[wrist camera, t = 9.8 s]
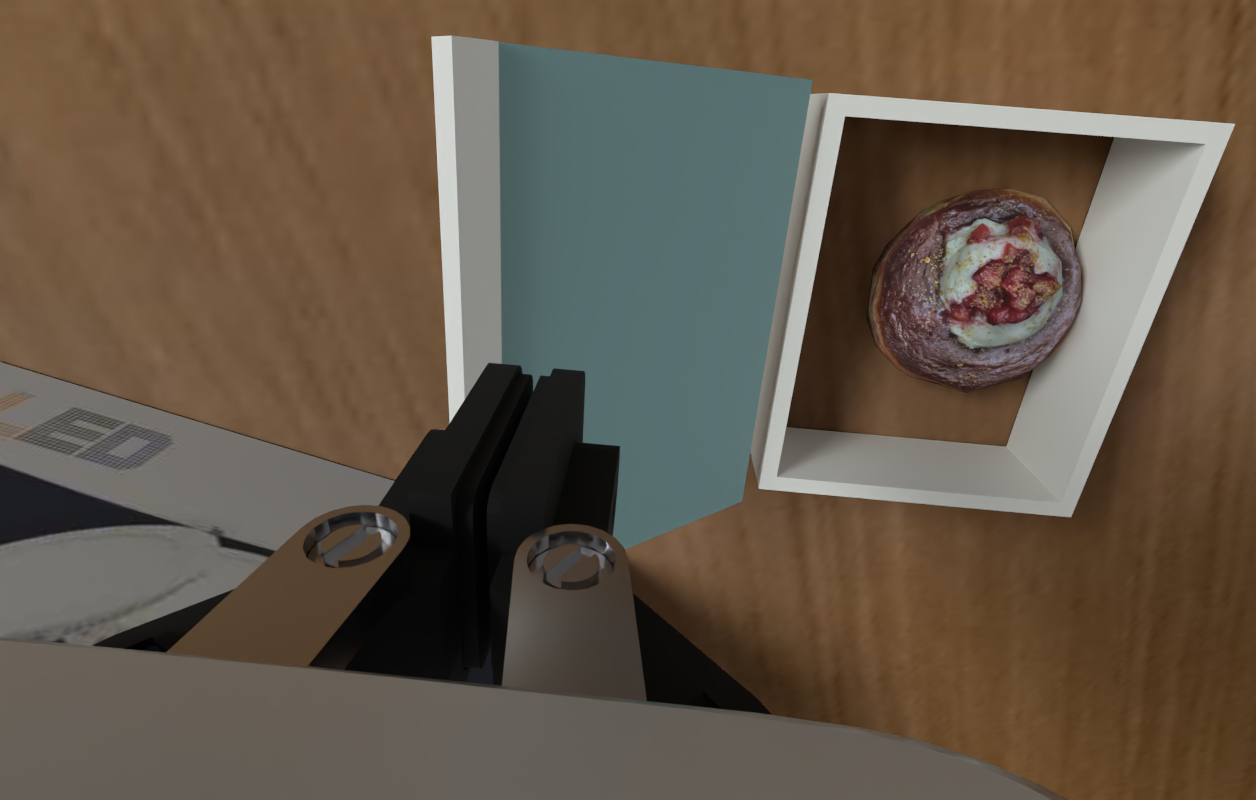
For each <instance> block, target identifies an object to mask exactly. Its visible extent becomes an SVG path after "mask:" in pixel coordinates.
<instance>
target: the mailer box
mask: <svg viewBox="0 0 1256 800" xmlns="http://www.w3.org/2000/svg"><path fill="white" fill-rule="evenodd" d="M845 116H848V117H861V118H874V119H887V120H900V121H913V122H926V123H939V124H952V125H965V126H978V127H991V128H1004V129H1017V130H1030V131H1043V132H1056V133H1069V134H1082V135H1095V136H1108V137H1114V140H1113V143H1112V145H1111V148H1110V151H1109V154H1108V157H1107V160H1106V163H1105V165H1104V168H1103V171H1102V174H1101V177H1100V180H1099V183H1098V185H1097V188H1096V191H1095V194H1094V197H1093V200H1092V203H1091V205H1090V208H1089V211H1088V214H1087V217H1086V220H1085V223H1084V225H1083V228H1082V231H1081V234H1080V237H1079V240H1078V243H1077V246H1076V248H1075V252H1076V255H1077V258H1078V261H1079V264H1080V267H1081V304H1080V306H1079V308H1078V311H1077V313H1076V315H1075V317H1074V319H1073V322H1072V324H1071V326H1070V328H1069V330H1068V332H1067V334H1066V337H1065V338H1064V339H1063V341H1062V342H1061V343H1060V344H1059V346H1058V347H1057V348H1056V349H1055V351H1054V352H1053V353H1052V355H1051V356H1050V357H1048V358H1047V359H1046V360H1044V361H1043V362H1042V363H1040V364H1039V365H1038V366H1037V367H1035V368H1034V369H1033V371H1032V374H1031V377H1030V380H1029V383H1028V386H1027V389H1026V391H1025V394H1024V397H1023V400H1022V403H1021V406H1020V409H1019V411H1018V414H1017V417H1016V420H1015V423H1014V426H1013V429H1012V431H1011V434H1010V437H1009V440H1008V443H1007V446H1006V447H1004V446H993V445H982V444H971V443H960V442H948V441H937V440H926V439H915V438H903V437H892V436H881V435H870V434H858V433H847V432H836V431H825V430H814V429H802V428H791V427H786V425H787V420H788V415H789V410H790V404H791V399H792V394H793V388H794V383H795V378H796V373H797V367H798V362H799V357H800V352H801V346H802V341H803V336H804V331H805V325H806V320H807V315H808V309H809V304H810V299H811V294H812V288H813V283H814V278H815V273H816V267H817V262H818V257H819V251H820V246H821V241H822V236H823V230H824V225H825V220H826V215H827V209H828V204H829V199H830V193H831V188H832V183H833V178H834V172H835V167H836V162H837V157H838V151H839V146H840V141H841V136H842V130H843V125H844V120H845ZM1234 126H1235V124H1229V123H1216V122H1203V121H1189V120H1176V119H1163V118H1150V117H1137V116H1124V115H1110V114H1097V113H1084V112H1071V111H1058V110H1045V109H1032V108H1018V107H1005V106H992V105H979V104H966V103H953V102H939V101H926V100H913V99H900V98H887V97H874V96H861V95H847V94H834V93H822V94H810V99H809V105H808V111H807V117H806V123H805V129H804V135H803V141H802V147H801V153H800V159H799V165H798V171H797V177H796V183H795V189H794V195H793V201H792V206H791V212H790V218H789V224H788V230H787V236H786V242H785V248H784V254H783V260H782V266H781V272H780V278H779V284H778V290H777V296H776V302H775V308H774V314H773V320H772V326H771V332H770V338H769V344H768V350H767V356H766V362H765V368H764V374H763V380H762V386H761V392H760V398H759V404H758V410H757V415H756V421H755V427H754V433H753V439H752V445H751V451H750V452H751V457H752V461H753V465H754V470H755V474H756V479H757V483H758V488H759V489H766V490H777V491H788V492H799V493H810V494H821V495H832V496H843V497H854V498H865V499H876V500H887V501H898V502H908V503H919V504H930V505H941V506H952V507H963V508H974V509H985V510H996V511H1007V512H1018V513H1029V514H1040V515H1051V516H1061V517H1071V516H1072V514H1073V512H1074V509H1075V507H1076V504H1077V502H1078V500H1079V497H1080V495H1081V492H1082V490H1083V488H1084V485H1085V483H1086V480H1087V478H1088V476H1089V473H1090V471H1091V468H1092V466H1093V464H1094V461H1095V459H1096V456H1097V454H1098V452H1099V449H1100V447H1101V444H1102V442H1103V440H1104V437H1105V435H1106V432H1107V430H1108V428H1109V425H1110V423H1111V421H1112V418H1113V416H1114V413H1115V411H1116V409H1117V406H1118V404H1119V401H1120V399H1121V397H1122V394H1123V392H1124V389H1125V387H1126V385H1127V382H1128V380H1129V377H1130V375H1131V373H1132V370H1133V368H1134V365H1135V363H1136V361H1137V358H1138V356H1139V353H1140V351H1141V349H1142V346H1143V344H1144V341H1145V339H1146V337H1147V334H1148V332H1149V329H1150V327H1151V325H1152V322H1153V320H1154V317H1155V315H1156V313H1157V310H1158V308H1159V305H1160V303H1161V301H1162V298H1163V296H1164V293H1165V291H1166V289H1167V286H1168V284H1169V281H1170V279H1171V277H1172V274H1173V272H1174V269H1175V267H1176V265H1177V262H1178V260H1179V257H1180V255H1181V253H1182V250H1183V248H1184V245H1185V243H1186V241H1187V238H1188V236H1189V233H1190V231H1191V229H1192V226H1193V224H1194V222H1195V219H1196V217H1197V214H1198V212H1199V210H1200V207H1201V205H1202V202H1203V200H1204V198H1205V195H1206V193H1207V190H1208V188H1209V186H1210V183H1211V181H1212V178H1213V176H1214V174H1215V171H1216V169H1217V166H1218V164H1219V162H1220V159H1221V157H1222V154H1223V152H1224V150H1225V147H1226V145H1227V142H1228V140H1229V138H1230V135H1231V133H1232V130H1233V128H1234Z"/></svg>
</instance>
